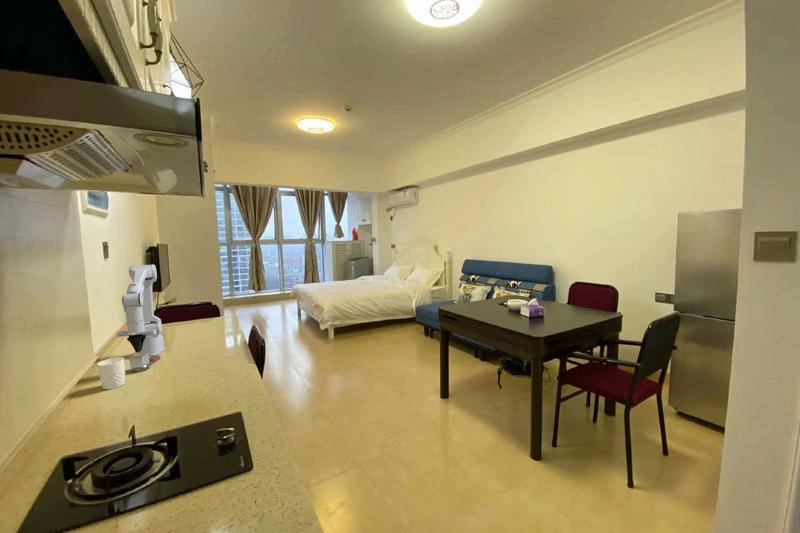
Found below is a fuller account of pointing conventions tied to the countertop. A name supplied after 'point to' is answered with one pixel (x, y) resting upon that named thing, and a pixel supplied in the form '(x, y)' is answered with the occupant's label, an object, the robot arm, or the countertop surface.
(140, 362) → the socket
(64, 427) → the countertop surface
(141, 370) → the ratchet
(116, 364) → the white cup
